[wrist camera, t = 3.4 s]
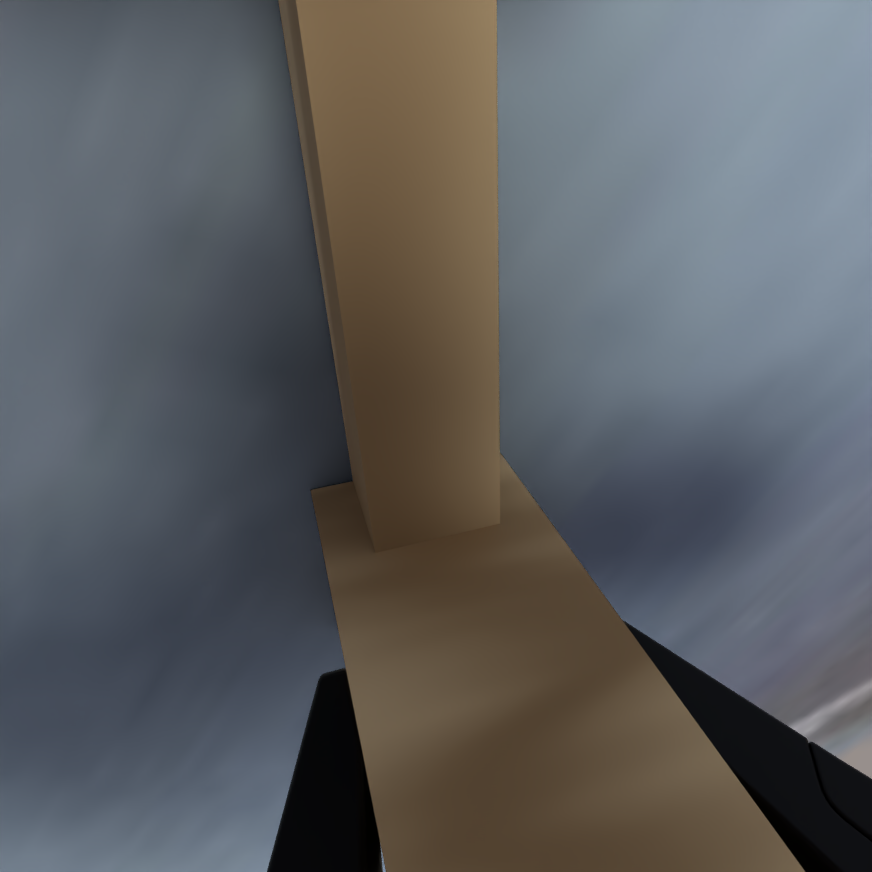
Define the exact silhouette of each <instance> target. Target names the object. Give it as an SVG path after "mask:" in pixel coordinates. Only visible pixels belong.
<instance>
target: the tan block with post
mask: <svg viewBox="0 0 872 872" xmlns="http://www.w3.org/2000/svg"><path fill="white" fill-rule="evenodd" d="M278 2H279V8H280V15H281V21H282V28H283V34H284V41H285V47H286V53H287V60H288V66H289V73H290V79H291V86H292V92H293V98H294V105H295V111H296V118H297V124H298V131H299V137H300V143H301V150H302V156H303V163H304V169H305V176H306V182H307V188H308V195H309V201H310V208H311V214H312V221H313V227H314V233H315V240H316V246H317V253H318V259H319V266H320V272H321V278H322V285H323V291H324V298H325V304H326V311H327V317H328V323H329V330H330V336H331V343H332V349H333V356H334V362H335V368H336V375H337V381H338V388H339V394H340V401H341V407H342V413H343V420H344V426H345V433H346V439H347V446H348V452H349V458H350V465H351V471H352V478H353V481H351V482H347V483H342V484H337V485H332V486H327V487H323V488H318V489H313V490H311V495H312V500H313V505H314V510H315V515H316V520H317V525H318V530H319V535H320V540H321V545H322V550H323V555H324V560H325V565H326V570H327V575H328V581H329V586H330V591H331V596H332V601H333V606H334V611H335V616H336V621H337V626H338V631H339V636H340V641H341V646H342V651H343V656H344V661H345V666H346V671H347V677H348V682H349V687H350V692H351V697H352V702H353V707H354V712H355V717H356V722H357V727H358V732H359V737H360V742H361V747H362V752H363V757H364V762H365V768H366V773H367V778H368V783H369V788H370V793H371V798H372V803H373V808H374V813H375V818H376V823H377V828H378V833H379V838H380V843H381V848H382V853H383V858H384V864H385V869H386V872H805V871H804V869H803V868H802V866H801V865H800V864H799V862H798V861H797V860H796V858H795V857H794V856H793V854H792V853H791V851H790V850H789V849H788V847H787V846H786V845H785V843H784V842H783V840H782V839H781V838H780V836H779V835H778V834H777V832H776V831H775V829H774V828H773V827H772V825H771V824H770V823H769V821H768V820H767V818H766V817H765V816H764V814H763V813H762V812H761V810H760V809H759V807H758V806H757V805H756V803H755V802H754V801H753V799H752V798H751V796H750V795H749V794H748V792H747V791H746V790H745V788H744V787H743V785H742V784H741V783H740V781H739V780H738V779H737V777H736V776H735V774H734V773H733V772H732V770H731V769H730V768H729V766H728V765H727V763H726V762H725V761H724V759H723V758H722V757H721V755H720V754H719V752H718V751H717V750H716V748H715V747H714V746H713V744H712V743H711V742H710V740H709V739H708V737H707V736H706V735H705V733H704V732H703V731H702V729H701V728H700V726H699V725H698V724H697V722H696V721H695V720H694V718H693V717H692V715H691V714H690V713H689V711H688V710H687V709H686V707H685V706H684V704H683V703H682V702H681V700H680V699H679V698H678V696H677V695H676V693H675V692H674V691H673V689H672V688H671V687H670V685H669V684H668V682H667V681H666V680H665V678H664V677H663V676H662V674H661V673H660V671H659V670H658V669H657V667H656V666H655V665H654V663H653V662H652V660H651V659H650V658H649V656H648V655H647V654H646V652H645V651H644V649H643V648H642V647H641V645H640V644H639V643H638V641H637V640H636V638H635V637H634V636H633V634H632V633H631V632H630V630H629V629H628V627H627V626H626V625H625V623H624V622H623V621H622V619H621V618H620V617H619V615H618V614H617V612H616V611H615V610H614V608H613V607H612V606H611V604H610V603H609V601H608V600H607V599H606V597H605V596H604V595H603V593H602V592H601V590H600V589H599V588H598V586H597V585H596V584H595V582H594V581H593V579H592V578H591V577H590V575H589V574H588V573H587V571H586V570H585V568H584V567H583V566H582V564H581V563H580V562H579V560H578V559H577V557H576V556H575V555H574V553H573V552H572V551H571V549H570V548H569V546H568V545H567V544H566V542H565V541H564V540H563V538H562V537H561V535H560V534H559V533H558V531H557V530H556V529H555V527H554V526H553V524H552V523H551V522H550V520H549V519H548V518H547V516H546V515H545V513H544V512H543V511H542V509H541V508H540V507H539V505H538V504H537V503H536V501H535V500H534V498H533V497H532V496H531V494H530V493H529V492H528V490H527V489H526V487H525V486H524V485H523V483H522V482H521V481H520V479H519V478H518V476H517V475H516V474H515V472H514V471H513V470H512V468H511V467H510V465H509V464H508V463H507V461H506V460H505V459H504V457H503V456H502V454H501V453H500V423H499V276H498V129H497V0H278Z"/></svg>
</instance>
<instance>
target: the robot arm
mask: <svg viewBox="0 0 872 872" xmlns="http://www.w3.org/2000/svg"><path fill="white" fill-rule="evenodd" d="M622 621H623V620H622ZM623 622H624V623H625V625H626V626H627V627H628V629H629V630H630V632H631V633H632V634H633V636H634V637H635V638H636V640H637V641H638V643H639V644H640V645H641V647H642V648H643V649H644V651H645V652H646V654H647V655H648V656H649V658H650V659H651V660H652V662H653V663H654V665H655V666H656V667H657V669H658V670H659V671H660V673H661V674H662V676H663V677H664V678H665V680H666V681H667V682H668V684H669V685H670V687H671V688H672V689H673V691H674V692H675V693H676V695H677V696H678V698H679V699H680V700H681V702H682V703H683V704H684V706H685V707H686V709H687V710H688V711H689V713H690V714H691V715H692V717H693V718H694V720H695V721H696V722H697V724H698V725H699V726H700V728H701V729H702V731H703V732H704V733H705V735H706V736H707V737H708V739H709V740H710V742H711V743H712V744H713V746H714V747H715V748H716V750H717V751H718V752H719V754H720V755H721V757H722V758H723V759H724V761H725V762H726V763H727V765H728V766H729V768H730V769H731V770H732V772H733V773H734V774H735V776H736V777H737V779H738V780H739V781H740V783H741V784H742V785H743V787H744V788H745V790H746V791H747V792H748V794H749V795H750V796H751V798H752V799H753V801H754V802H755V803H756V805H757V806H758V807H759V809H760V810H761V812H762V813H763V814H764V816H765V817H766V818H767V820H768V821H769V823H770V824H771V825H772V827H773V828H774V829H775V831H776V832H777V834H778V835H779V836H780V838H781V839H782V840H783V842H784V843H785V845H786V846H787V847H788V849H789V850H790V851H791V853H792V854H793V856H794V857H795V858H796V860H797V861H798V862H799V864H800V865H801V866H802V868H803V869H804V871H805V872H872V779H871V778H869V777H868V776H866V775H865V774H863V773H861V772H860V771H858V770H856V769H855V768H853V767H852V766H850V765H848V764H847V763H845V762H843V761H842V760H840V759H839V758H837V757H836V756H834V755H832V754H831V753H829V752H828V751H826V750H825V749H823V748H821V747H820V746H818V745H817V744H815V743H814V742H809V743H808V740H807V739H806V738H805V737H804V736H802V735H801V734H799V733H798V732H796V731H795V730H793V729H792V728H790V727H788V726H787V725H785V724H784V723H782V722H781V721H779V720H777V719H776V718H774V717H773V716H771V715H770V714H768V713H767V712H765V711H763V710H762V709H760V708H759V707H757V706H756V705H754V704H753V703H751V702H749V701H748V700H746V699H745V698H743V697H742V696H740V695H738V694H737V693H735V692H734V691H732V690H731V689H729V688H728V687H726V686H724V685H723V684H721V683H720V682H718V681H717V680H715V679H714V678H712V677H710V676H709V675H707V674H706V673H704V672H703V671H701V670H700V669H698V668H696V667H695V666H693V665H692V664H690V663H689V662H687V661H685V660H684V659H682V658H681V657H679V656H678V655H676V654H675V653H673V652H671V651H670V650H668V649H667V648H665V647H664V646H662V645H661V644H659V643H657V642H656V641H654V640H653V639H651V638H650V637H648V636H647V635H645V634H643V633H642V632H640V631H639V630H637V629H636V628H634V627H632V626H631V625H629V624H628V623H626V622H625V621H623ZM267 872H383V870H382V858H381V846H380V838H379V833H378V828H377V823H376V818H375V813H374V808H373V803H372V798H371V793H370V788H369V783H368V778H367V773H366V768H365V762H364V757H363V752H362V747H361V742H360V737H359V732H358V727H357V722H356V717H355V712H354V707H353V702H352V697H351V692H350V687H349V682H348V677H347V671H346V669H345V668H342V669H338V670H335V671H331V672H327V673H324V674H322V675H321V676H320V678H319V680H318V683H317V687H316V691H315V694H314V698H313V702H312V706H311V709H310V713H309V717H308V721H307V724H306V728H305V732H304V735H303V739H302V743H301V747H300V750H299V754H298V758H297V762H296V765H295V769H294V773H293V777H292V780H291V784H290V788H289V791H288V795H287V799H286V803H285V806H284V810H283V814H282V818H281V821H280V825H279V829H278V833H277V836H276V840H275V844H274V847H273V851H272V855H271V859H270V862H269V866H268V870H267Z"/></svg>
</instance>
